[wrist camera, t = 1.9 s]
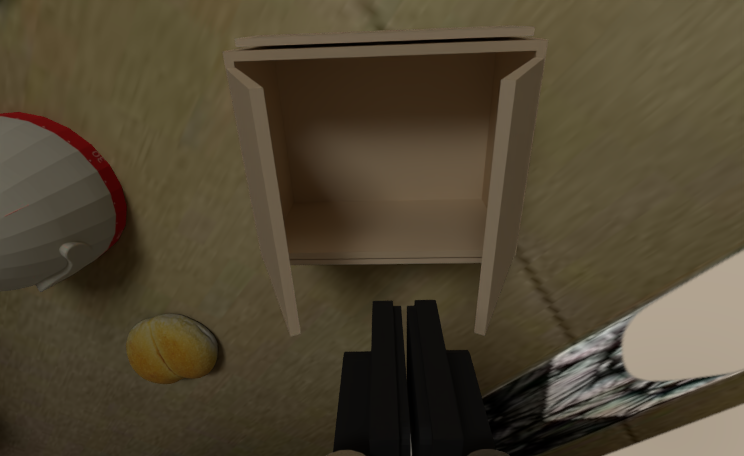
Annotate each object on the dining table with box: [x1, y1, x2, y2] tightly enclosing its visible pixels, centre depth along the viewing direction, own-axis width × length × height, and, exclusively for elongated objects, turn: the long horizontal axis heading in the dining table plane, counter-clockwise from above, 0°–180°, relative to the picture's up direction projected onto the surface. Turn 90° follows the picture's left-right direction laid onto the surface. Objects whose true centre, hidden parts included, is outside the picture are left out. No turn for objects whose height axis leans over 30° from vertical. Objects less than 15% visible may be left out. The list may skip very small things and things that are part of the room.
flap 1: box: [226, 68, 301, 336], centre depth 20 cm, size 1×11×9 cm, turn 1°
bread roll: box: [126, 314, 218, 384], centre depth 42 cm, size 8×9×4 cm
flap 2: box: [474, 58, 545, 336], centre depth 20 cm, size 1×11×9 cm, turn 2°
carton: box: [223, 26, 548, 265], centre depth 28 cm, size 17×14×9 cm
